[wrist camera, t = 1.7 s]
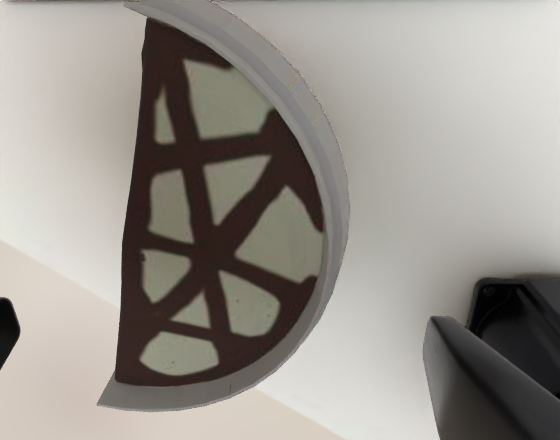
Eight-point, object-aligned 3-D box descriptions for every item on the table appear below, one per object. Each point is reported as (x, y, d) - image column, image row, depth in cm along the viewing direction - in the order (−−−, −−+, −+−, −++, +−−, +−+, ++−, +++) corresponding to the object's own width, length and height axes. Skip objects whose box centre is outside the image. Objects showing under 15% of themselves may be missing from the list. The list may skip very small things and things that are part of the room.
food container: (296, 285, 22) (285, 461, 13) (186, 257, 22) (95, 417, 13) (372, 45, 17) (443, 56, 8) (228, 6, 16) (125, -31, 7)
